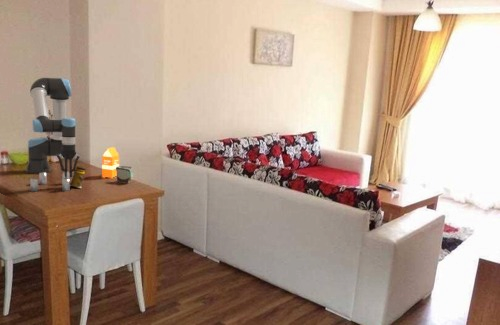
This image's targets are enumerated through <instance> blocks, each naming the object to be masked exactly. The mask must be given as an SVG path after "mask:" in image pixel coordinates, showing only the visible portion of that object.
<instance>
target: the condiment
mask: <svg viewBox="0 0 500 325" xmlns="http://www.w3.org/2000/svg"><path fill="white" fill-rule="evenodd" d="M73 172H74V173H73V174H72V177H71V180H70V187H75V188H78V189H82V188H83V187H82V184H83V181H84V177H85V174H86V173H85V172H86V167H84V166H80V165H76V169H75V171H73Z"/></svg>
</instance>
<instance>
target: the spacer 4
mask: <svg viewBox="0 0 500 325" xmlns="http://www.w3.org/2000/svg"><path fill="white" fill-rule="evenodd" d="M61 183H62V184H61V185H62V186H61V189H62V191H63V192H69V191H70V190H71V189H70V188H71V186H70V183H71V178H70V179H69V178H63V179H62V178H61Z"/></svg>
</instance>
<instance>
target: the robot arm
mask: <svg viewBox="0 0 500 325" xmlns="http://www.w3.org/2000/svg"><path fill="white" fill-rule="evenodd" d="M29 94H30V96H31V98H32V103H33V110H34V117H35V118H34V119H33V120H32V131H33V132H34V133H52V135H50V139H48V138H47V137H46V136H44V137H42V136H41V137H34V138H33V137H32V138H30V139H29V140H28V141H27V151H28V154H27V155H28V162H27V163H26V164H27V165H26V168H25V173H28V174H35V175H36V174H38V175H39V173H41V172H46V173H47V174H48V173H51V170H52V169H51V166H50V164H49V161H48V157H57V159H58V161H59V165H60V169H61V172H65V177H67V178H69V179H70V180H71V178H73V172H75V170H76V168H77V166H78V161H79V159H80V158H81V155H78V154H77V152H76V119H75V118H74V117H67V102H68V101H69V99H70V98H71V97H72V87H71V83H70V80H69V79H67V78H61V77H40V78H38V79H37V80H35V81H34V82H33V83H32V84H31V86H30V91H29ZM47 96H49V99H51V101H52V119H50V115H49V108H48V101H47ZM62 158H63V159H64V162H63V159H62ZM74 158H75V160H74V164H73V159H74ZM68 160H69V161H68ZM68 163H69V165H68ZM68 166H69V167H68ZM68 168H69V169H68Z"/></svg>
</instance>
